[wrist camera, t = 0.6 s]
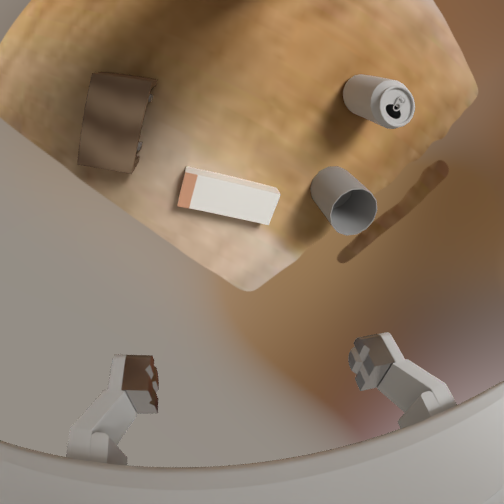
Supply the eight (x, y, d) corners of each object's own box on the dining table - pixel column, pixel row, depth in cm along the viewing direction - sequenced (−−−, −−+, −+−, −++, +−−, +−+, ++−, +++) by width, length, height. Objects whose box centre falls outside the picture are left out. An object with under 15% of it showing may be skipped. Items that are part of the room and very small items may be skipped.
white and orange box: (186, 166, 48) (185, 172, 46) (276, 187, 53) (280, 194, 51) (178, 198, 51) (177, 206, 49) (265, 217, 56) (268, 225, 54)
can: (333, 102, 45) (367, 115, 36) (352, 66, 42) (391, 70, 32) (367, 122, 48) (404, 140, 38) (385, 88, 44) (426, 99, 35)
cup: (359, 189, 56) (384, 213, 47) (326, 215, 58) (347, 244, 50) (336, 157, 51) (361, 178, 43) (301, 185, 54) (320, 211, 45)
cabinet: (101, 71, 37) (89, 73, 32) (157, 79, 39) (151, 81, 35) (86, 153, 44) (74, 164, 39) (138, 162, 47) (131, 173, 42)
